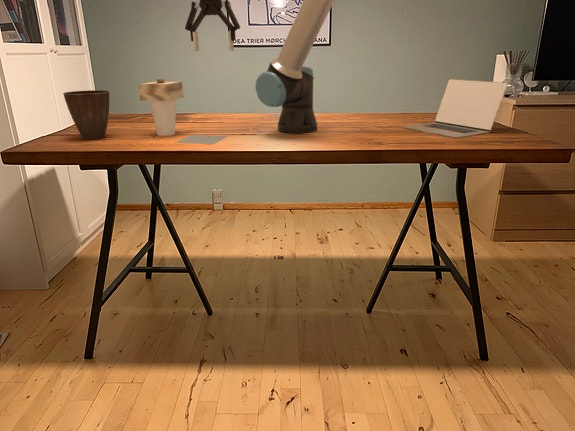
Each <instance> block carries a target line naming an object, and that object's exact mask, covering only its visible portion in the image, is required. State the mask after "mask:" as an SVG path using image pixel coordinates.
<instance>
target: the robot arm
mask: <svg viewBox="0 0 575 431" xmlns="http://www.w3.org/2000/svg"><path fill="white" fill-rule="evenodd" d="M335 1H336V0H303V1H302V3H301V5H300V7H299V10H298V12H297V14H296V16H295V19H294V20H293V23H292V25H291V28H290V30H289V32H288V35H287V36H286V39H285V41H284V43H283V45H282V47H281V50H280V51H279V54H278V56H277V57H276V58H273V59H272V60H271V61H270V62H269V66H268V67H267V70H266V71H263V72H262V73H261V74H260V73H259V75H258V77H257V78H256V81H255V88H254V89H255V92H256V95H257V98H258V99H259V101H260V102H261V103H262V104H263V105H264V106H266V107H269V108H273V107H275V108H279V107H281V112H280V115H279V118H278V122H277V131H279V132H281V133H285V134H286V133H288V134H306V133H312V132H316V131H317V130H318V121H317V119H316V115H315V112H314V71H313V68H312V67H310V66H303V65H304V63H305V62H306V60H307V57H308V55H309V54H310V51H311V49H312V47H313V46H314V43H315V41H316V39H317V37H318V35H319V33H320V31H321V29H322V26H323V25H324V23H325V20H326V18H327V16H328V14H329V13H330V11H331V8H332V6H333V5H334V2H335ZM231 6H232V5H231V2H230V0H225V1H222V0H199V2H195V1H191V8H190V10H189V15H188V17H187V19H186V23H185V27H184V29H185V31H188V32H190V41H191V42H193V43H192V44H193V51H194V52H199V51H200V45H199V42H200V41H199V32H198V31H197V29H198V28H199V26H200V25H201V23H202V22H203V21H204V19H205V17H206V16H218V17H219V18H220V20H221V21H222V22H223V23H224V24H225V25H226V27H227V28H228V29H229V30H228V31H227V34H228V35H227V38H228V51H230V52H233V51H235V50H234V42H235V41H236V31H238V30H240V29H241V25H240V23H239V21H238V19H237V17H236V15H235V12H234V11H233V9H232V7H231ZM199 8H200V9H201V10H200V11H199V13H198V15H197V12H198V9H199ZM222 8H225V11H226V13H227V14H228V17H229V18H228V17H227V15H225V13H224V12H223V10H222ZM196 15H197V17H196Z"/></svg>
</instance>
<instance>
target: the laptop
mask: <svg viewBox="0 0 575 431" xmlns="http://www.w3.org/2000/svg"><path fill="white" fill-rule="evenodd" d="M507 88H508V83H507V82H497V81H485V80H472V79H471V80H470V79H458V78H457V79H453V78H449V79H448V81H447V84H446V87H445V90H444V92H443V97H442V98H441V101H440V104H439V107H438V110H437V113H436V116H435V118H434V122H427V123H421V124H413V125H404V126H401V128H402V129H403V130H404V129H405V130H409V131H413V132H414V131H415V132H419V133H424V134H429V135H435V136H440V137H445V138H449V139H455V140H457V139H463V138H469V137H475V136H481V135H487V134H490V132H492V128H493V126H494V123H495V120H496V118H497V114H498V111H499V110H500V106H501V103H502V101H503V98H504V95H505V93H506V89H507Z"/></svg>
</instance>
